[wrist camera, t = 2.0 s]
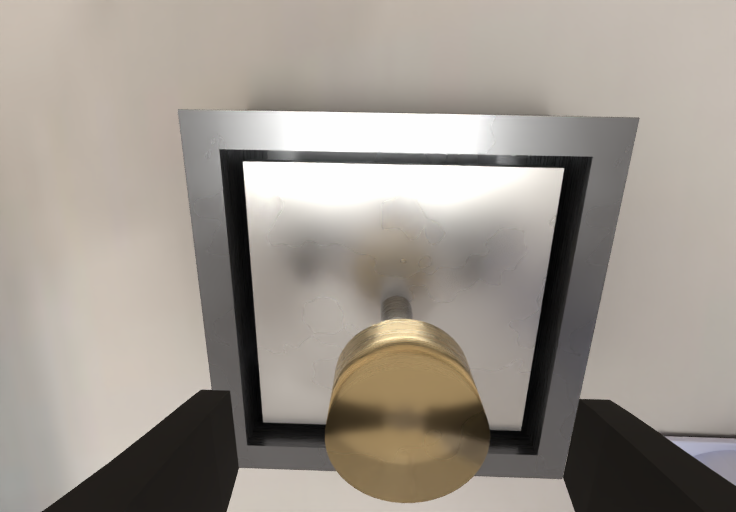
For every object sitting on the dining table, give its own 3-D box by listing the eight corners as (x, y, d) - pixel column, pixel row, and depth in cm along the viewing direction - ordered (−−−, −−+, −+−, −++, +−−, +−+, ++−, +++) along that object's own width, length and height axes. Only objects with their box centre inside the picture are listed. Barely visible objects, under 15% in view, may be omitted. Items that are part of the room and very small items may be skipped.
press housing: (550, 115, 17) (639, 117, 11) (511, 376, 20) (562, 478, 15) (246, 110, 17) (177, 109, 11) (264, 369, 21) (221, 466, 15)
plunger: (555, 165, 13) (715, 213, 7) (515, 419, 16) (599, 610, 10) (249, 159, 13) (134, 201, 7) (267, 411, 16) (198, 593, 10)
